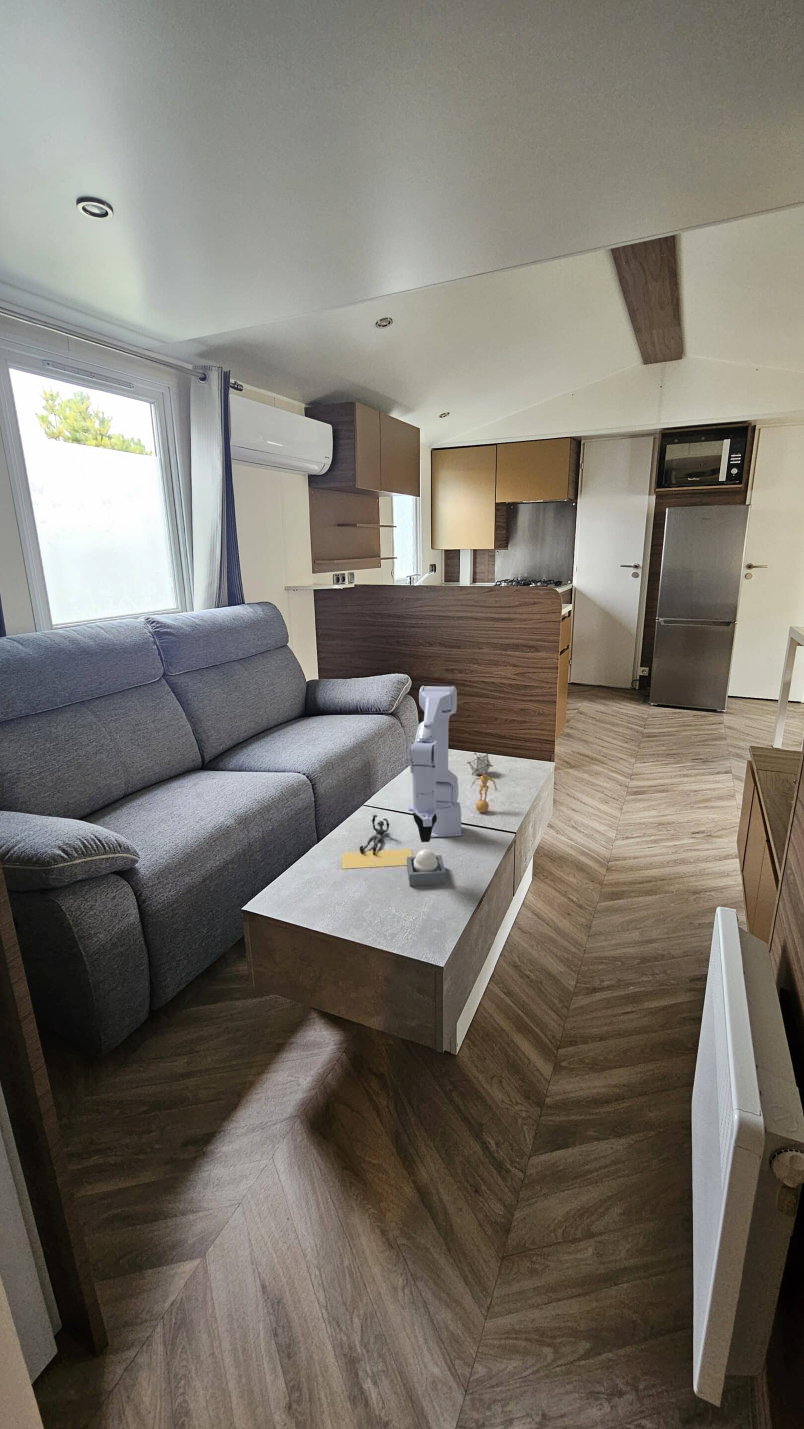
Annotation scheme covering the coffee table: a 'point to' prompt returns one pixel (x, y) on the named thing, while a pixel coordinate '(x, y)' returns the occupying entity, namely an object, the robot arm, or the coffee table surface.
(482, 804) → the figurine
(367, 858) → the yellow rectangular panel
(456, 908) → the coffee table surface
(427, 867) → the popper dome
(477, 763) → the grey spiky lattice polyhedron
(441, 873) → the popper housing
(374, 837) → the zombie figurine
